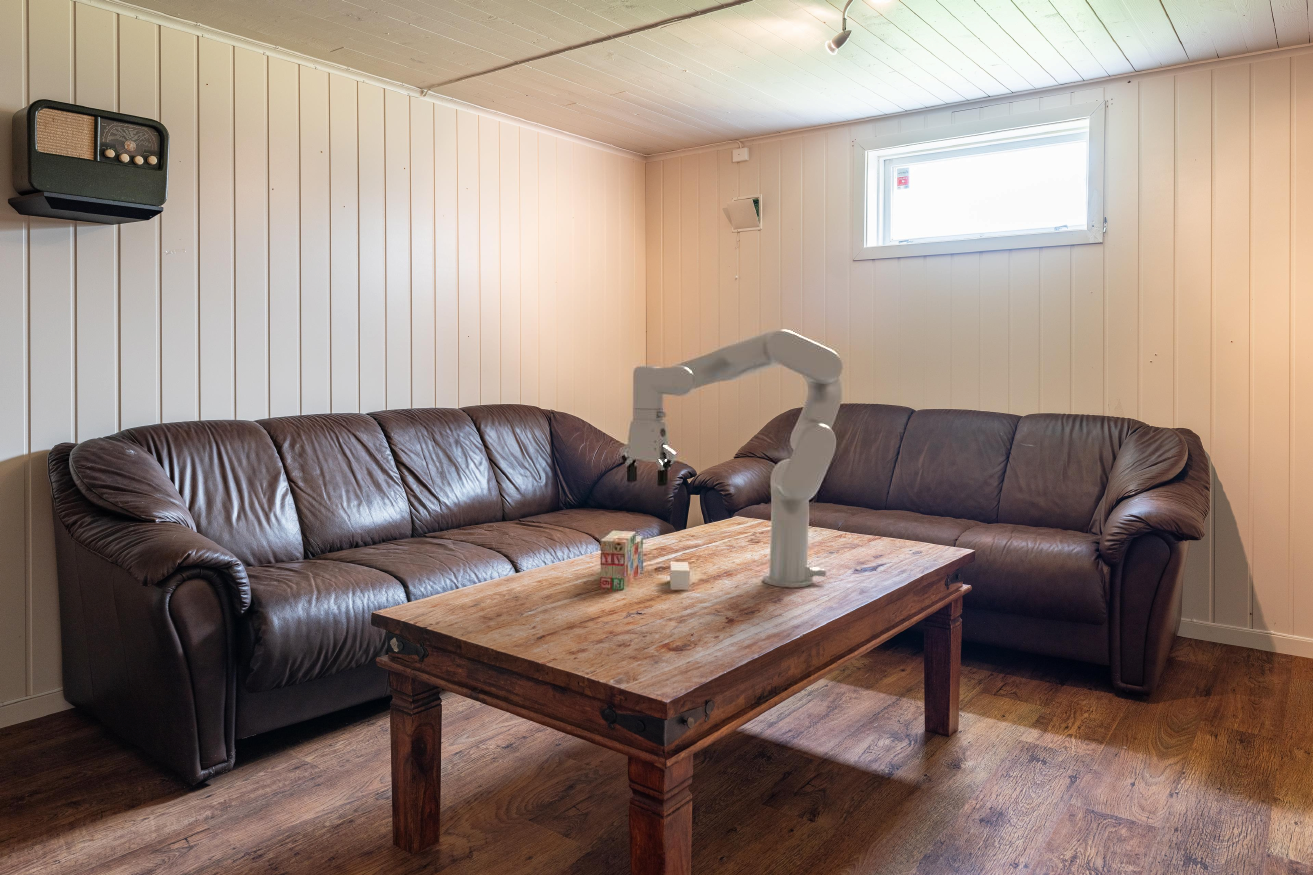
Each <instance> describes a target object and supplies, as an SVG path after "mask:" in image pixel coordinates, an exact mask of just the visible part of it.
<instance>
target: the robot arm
mask: <svg viewBox="0 0 1313 875" xmlns="http://www.w3.org/2000/svg"><path fill="white" fill-rule="evenodd" d="M778 365H780V366H783V367H784V368H786V369H789V370H791V371H793V372H794V373H797V374H799V375H801V376H802V377H803V378H804V380H805V382H806V386H807V396H806V400H805V402H804V405H803V408H802V410H801V411H800V412H801V413H800V414H799V417H798V419H797V422H796V424H795V426H794V428H793V430H792V431H791V435H790V438H789V439H790V440H789V441H790V442H789V443H790V447H791V448H792V449H793V451H792V453H791V456H790V458H787V459H786V458H785V459H783V460H781V461H779V462H778V463H776V465H775V466H774V468H773V469H772V472H771V474H770V497H771V503H770V504H771V511H770V512H771V514H770V517H771V518H770V539H769V540H770V544H769V547H770V548H769V572H767V573H765V574H764V575H763V576H762V579H763V580H762V581H763V582H764V583H765V584H768V585H771V586H774V587H781V588H790V589H791V588H792V589H793V588H795V589H796V588H805V587H810V586H811V585H813V583H814V582H813V581H814V577H826V574H827V571H826V568H819V567H810V565H809V564H808V549H809V523H810V502H809V501H810V500H811V499H812V498H813V497H814V496H815V495H816V494H817V492H818V491H819V489H820V487H821V484H822V482H823V481H824V478H825V476H826V474H827V471H828V469H829V467H830V464H831V462H832V460H833V457H834V455H835V452H836V449H837V448H836V447H837V438H836V434H835V432H834V431H833V429H832V428H833V425H834V424H835V421H836V419H837V418H836V417H837V416H838V412H839V411H840V410H839V409H840V406H841V403H842V398H843V389H842V385H841V384H842V383H841V379H840V376H841V374H842V371H843V362H842V358H841V357H840V355H839V354H838V353H837V352H835V351H834V350H832V349H831V348H828V347H826V346H824V345H822V344H820V343H818V342H815V341H813V340H811V339H809V338H806V337H804V336H802V335H800V334H798V333H795V332H793V331H791V330H789V329H777V330H772V331H768V332H766V333H763V334H760V335H756V336H754V337H750V338H747V339H744V340H741V341H739V342H735V343H732V344H729V345H727V346H724V347H720V348H719V349H717V350H715V351H712V352H710V353H707V354H703V355H701V356H698V357H694V358H691V359H689V360H685V361H683V362H681V363H677V364H675V365H671V366H667V367H660V366H655V365H639V366H636V367H635V368H634V369H633V371H632V372H633V373H632V374H633V376H632V420H631V421H630V424H629V430H628V438H627V444H624V445H623V446H621V447H619V449H618V451H619V454H620V456H621V460H622V461H623V462H624V466H625V467H626V481H627V483H634V482H635V483H636V482H637V481H638V479H637V478H638V467H637V465H636V464H637V462H638V461H641V462H650V463H656V465H657V467H658V470H657V487H663V486H664V487H665V486H667V485H668V479H669V478H668V476H669V475H668V474H669V473H668V472H669V470H670V469H671V466H672V465H674V463H675V462H674V461H675V460H676V457H677V452H676V451H675V450H674V449H672V448H670V446H669V434H668V428H667V423H666V421H664V418H666V417H667V412H664V409H663V408H664V395H668V396H674V397H684V396H686V395H689V394H690V393H691V392H692V391H693V390H696V389H699V388H701V387H705V386H708V385H711V384H714V383H720V382H726V381H727V382H728V381H734V380H738V379H741V378H743V377H746V376H749V375H752V374H755V373H758V372H761V371H763V370H767V369H770V368H773V367H775V366H778Z"/></svg>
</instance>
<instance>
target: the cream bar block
mask: <svg viewBox="0 0 1313 875" xmlns="http://www.w3.org/2000/svg"><path fill="white" fill-rule="evenodd" d="M690 573H691V571H690V564H689V561H670V562H669V584H670V590H672V591H674V590H676V591H689V590H690Z"/></svg>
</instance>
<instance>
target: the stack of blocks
mask: <svg viewBox="0 0 1313 875" xmlns="http://www.w3.org/2000/svg"><path fill="white" fill-rule="evenodd" d="M599 556H600V557H599V558H600V561H599V562H600V576H599V577H600V578H599V589H605V590H606V589H607V590H619V591H624V590H625V589H627V588H628V587H629V586H630V585H631V584H632V583H633V581H634V580H635V579H636V578H637V576H638V575H640V573H642V571H643V570H644V536H642V535H637V533H636V531H629V530H628V531H627V530H625V531H624V530H623V531H622V530H612V531H610V533H608V534H607V535H606V536H605V537H603V538H602V539H600V555H599Z"/></svg>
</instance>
